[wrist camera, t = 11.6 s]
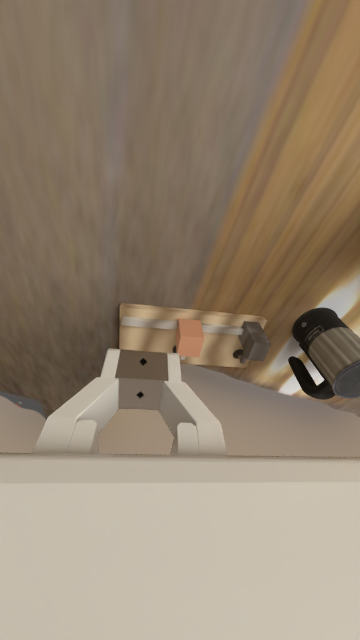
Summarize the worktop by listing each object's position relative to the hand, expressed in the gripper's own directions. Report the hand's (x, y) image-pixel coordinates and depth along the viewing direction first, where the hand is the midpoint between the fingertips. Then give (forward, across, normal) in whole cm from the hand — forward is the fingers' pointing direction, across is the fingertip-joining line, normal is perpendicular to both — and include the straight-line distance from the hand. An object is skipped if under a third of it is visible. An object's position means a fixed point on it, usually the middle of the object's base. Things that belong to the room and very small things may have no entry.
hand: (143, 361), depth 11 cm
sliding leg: (+29, -8, +21) cm, 37 cm away
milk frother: (+31, -38, +20) cm, 53 cm away
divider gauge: (+31, -9, +23) cm, 40 cm away
